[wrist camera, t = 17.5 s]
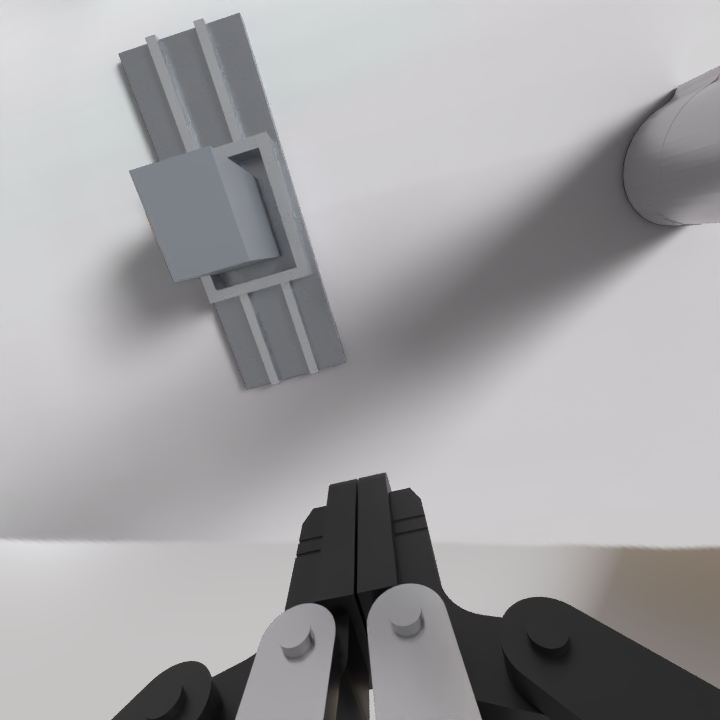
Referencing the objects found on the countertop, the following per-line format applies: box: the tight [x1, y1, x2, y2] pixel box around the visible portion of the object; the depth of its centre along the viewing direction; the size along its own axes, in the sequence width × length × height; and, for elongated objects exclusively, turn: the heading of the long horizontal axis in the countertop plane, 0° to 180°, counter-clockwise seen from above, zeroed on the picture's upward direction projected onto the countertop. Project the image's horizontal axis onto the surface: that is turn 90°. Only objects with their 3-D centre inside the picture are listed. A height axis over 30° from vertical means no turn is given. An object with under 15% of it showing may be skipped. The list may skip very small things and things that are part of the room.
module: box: [129, 146, 281, 283], centre depth 26 cm, size 6×5×10 cm
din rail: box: [119, 13, 346, 389], centre depth 30 cm, size 26×9×3 cm, turn 16°
